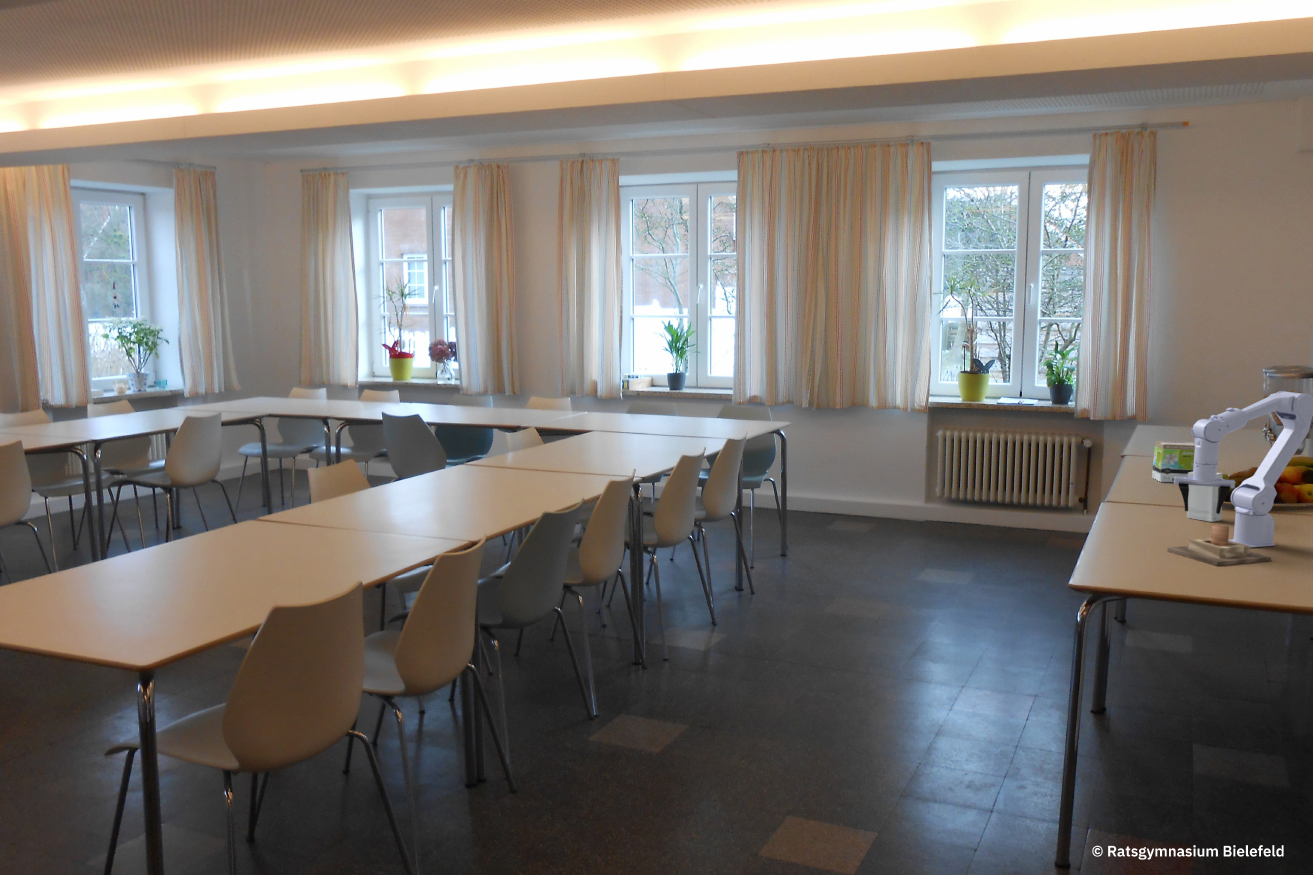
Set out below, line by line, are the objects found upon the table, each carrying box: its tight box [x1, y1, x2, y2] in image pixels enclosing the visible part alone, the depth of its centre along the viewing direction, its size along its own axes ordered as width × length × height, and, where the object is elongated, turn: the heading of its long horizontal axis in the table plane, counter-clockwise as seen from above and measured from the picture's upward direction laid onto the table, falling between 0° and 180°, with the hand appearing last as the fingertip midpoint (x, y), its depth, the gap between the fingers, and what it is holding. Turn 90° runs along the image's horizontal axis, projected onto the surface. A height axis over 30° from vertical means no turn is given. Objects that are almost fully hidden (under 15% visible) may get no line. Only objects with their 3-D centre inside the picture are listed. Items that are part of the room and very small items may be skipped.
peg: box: [1210, 524, 1230, 546], centre depth 264 cm, size 4×4×7 cm
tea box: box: [1151, 440, 1195, 483], centre depth 378 cm, size 15×10×15 cm, turn 81°
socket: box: [1167, 537, 1272, 567], centre depth 265 cm, size 18×16×4 cm
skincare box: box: [1186, 472, 1224, 523], centre depth 310 cm, size 8×6×15 cm
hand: (1202, 511), depth 275 cm, fingers open, 7 cm apart
